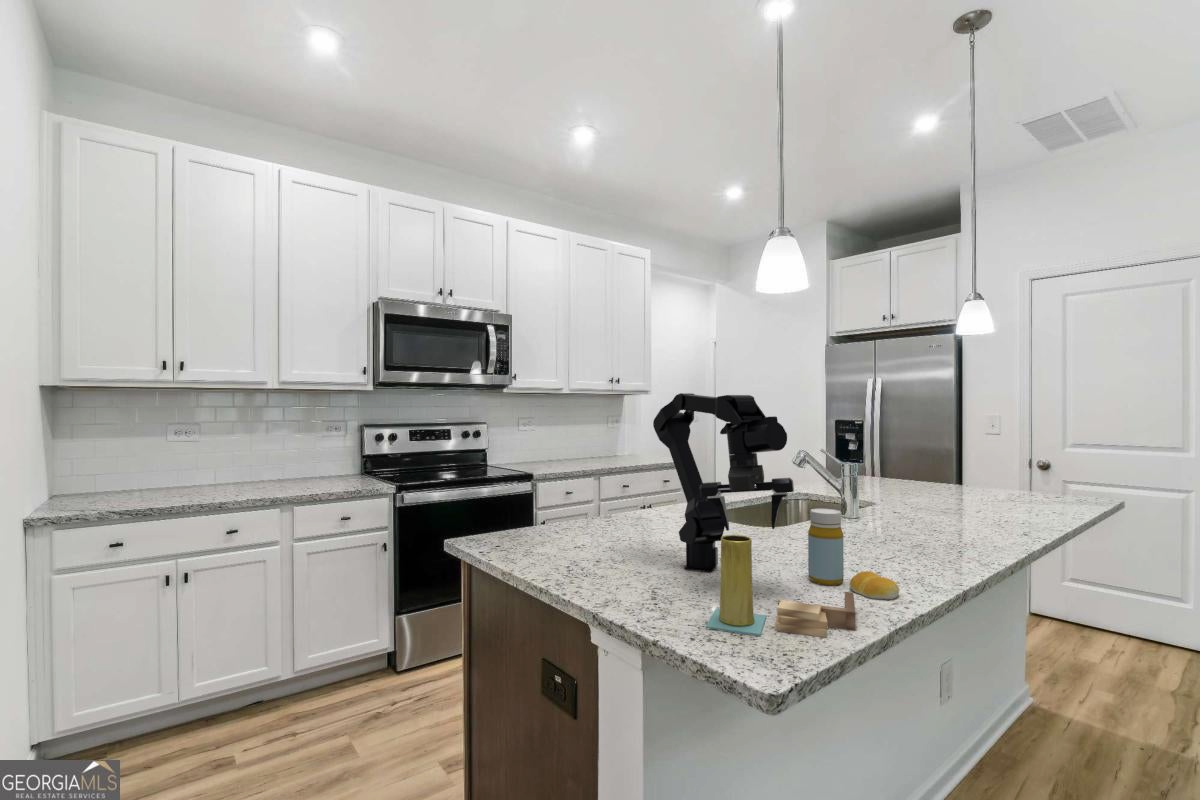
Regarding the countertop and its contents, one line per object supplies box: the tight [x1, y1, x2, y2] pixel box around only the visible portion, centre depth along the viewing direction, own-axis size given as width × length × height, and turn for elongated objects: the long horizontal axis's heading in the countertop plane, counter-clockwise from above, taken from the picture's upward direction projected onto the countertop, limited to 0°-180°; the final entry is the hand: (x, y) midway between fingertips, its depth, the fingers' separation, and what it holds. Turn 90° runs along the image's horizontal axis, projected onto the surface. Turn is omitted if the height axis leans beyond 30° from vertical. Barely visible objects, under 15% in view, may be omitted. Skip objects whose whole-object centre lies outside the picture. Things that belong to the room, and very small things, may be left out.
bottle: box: [807, 507, 845, 586], centre depth 124 cm, size 7×7×15 cm
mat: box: [705, 608, 767, 637], centre depth 101 cm, size 9×9×1 cm
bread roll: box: [849, 570, 900, 601], centre depth 117 cm, size 8×9×4 cm
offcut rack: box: [774, 591, 856, 638], centre depth 102 cm, size 12×16×4 cm
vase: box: [719, 534, 755, 626], centre depth 101 cm, size 6×6×14 cm
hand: (750, 529), depth 120 cm, fingers open, 9 cm apart
